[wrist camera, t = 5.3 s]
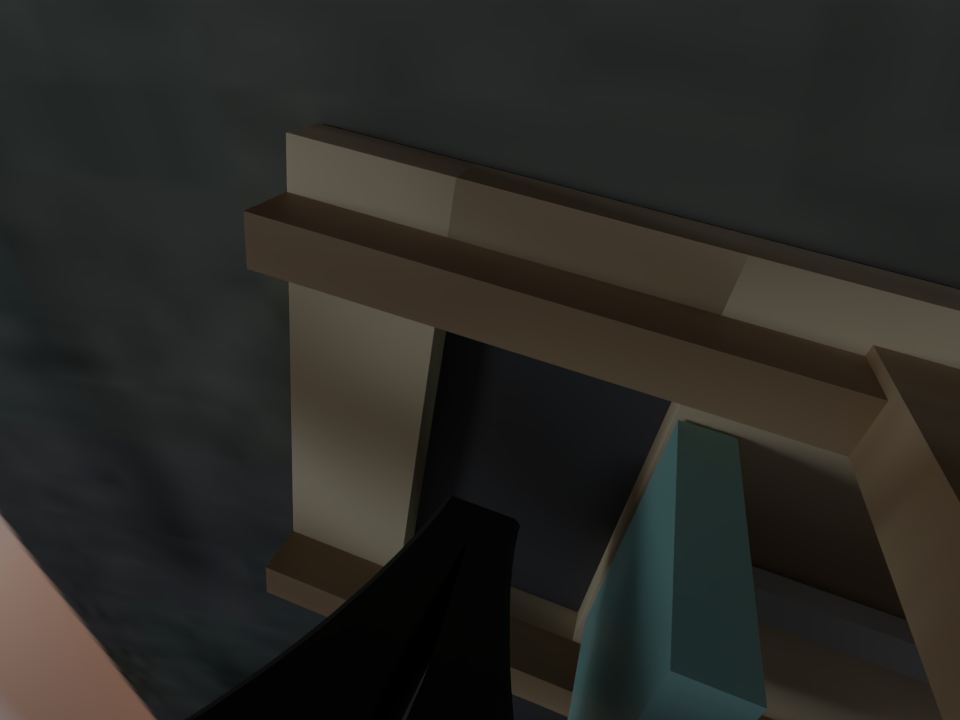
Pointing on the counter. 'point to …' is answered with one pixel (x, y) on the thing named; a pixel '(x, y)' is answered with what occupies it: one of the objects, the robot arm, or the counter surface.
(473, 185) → the tunnel board
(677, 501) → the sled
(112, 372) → the counter surface
